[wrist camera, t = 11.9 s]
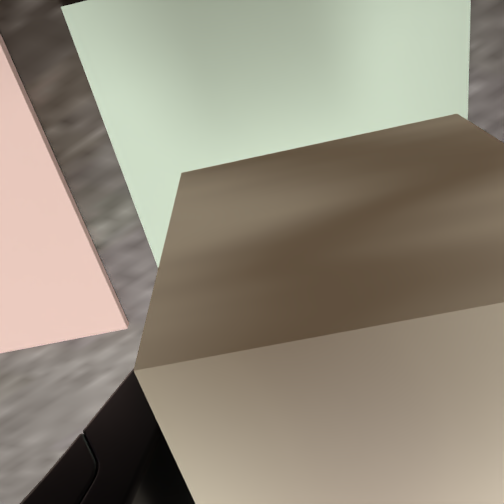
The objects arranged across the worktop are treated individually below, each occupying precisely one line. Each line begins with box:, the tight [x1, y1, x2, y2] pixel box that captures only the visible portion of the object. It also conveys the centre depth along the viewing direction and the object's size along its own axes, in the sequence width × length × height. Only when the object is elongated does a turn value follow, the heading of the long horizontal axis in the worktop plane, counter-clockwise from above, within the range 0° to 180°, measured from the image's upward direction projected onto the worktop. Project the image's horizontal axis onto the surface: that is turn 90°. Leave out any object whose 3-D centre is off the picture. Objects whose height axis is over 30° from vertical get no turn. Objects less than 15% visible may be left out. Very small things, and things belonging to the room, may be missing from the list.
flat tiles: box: [0, 0, 471, 353], centre depth 16 cm, size 24×11×1 cm, turn 102°
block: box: [134, 114, 504, 504], centre depth 8 cm, size 5×5×5 cm
